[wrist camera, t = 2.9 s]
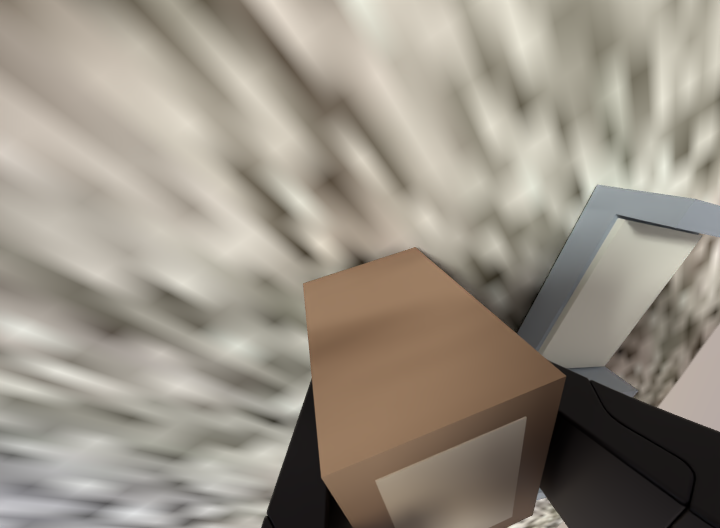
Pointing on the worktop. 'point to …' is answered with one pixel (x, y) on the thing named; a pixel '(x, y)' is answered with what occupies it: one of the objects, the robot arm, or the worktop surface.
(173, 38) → the worktop surface
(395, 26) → the worktop surface
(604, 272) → the bracket
